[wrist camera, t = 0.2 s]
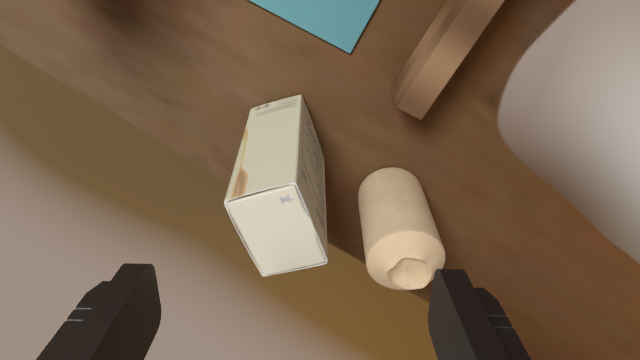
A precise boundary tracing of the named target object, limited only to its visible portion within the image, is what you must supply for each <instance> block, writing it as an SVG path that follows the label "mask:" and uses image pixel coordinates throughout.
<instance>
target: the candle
mask: <svg viewBox="0 0 640 360" xmlns="http://www.w3.org/2000/svg"><path fill="white" fill-rule="evenodd" d="M358 204H359V212H360V220H361V228H362V236H363V244H364V252H365V259H366V266H367V270H368V273H369V274H370V276H371V277H372V278H373V279H374V280H375V281H376V282H377V283H379V284H381V285H383V286H385V287H388V288H391V289H397V290H413V289H422V288H424V287H425V286H426V285H427V284H428V283H429V282H430V281H432V280H433V278H434V273H435V271H436V269H442V268H443V266H444V263H445V251H444V248H443V245H442V242H441V239H440V236H439V234H438V231H437V228H436V225H435V223H434V220H433V217H432V214H431V211H430V209H429V206H428V203H427V200H426V198H425V195H424V192H423V189H422V187H421V185H420V182H419V181H418V179H417V178H416V177H415V176H414V175H413V174H412V173H411V172H409V171H407V170H405V169H402V168H397V167H387V168H382V169H379V170H377V171H375V172H373V173H371V174H370V175H368V176H367V177H366V178H365V179H364V181H363V182H362V184H361V186H360V188H359V192H358Z"/></svg>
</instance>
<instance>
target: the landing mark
mask: <svg viewBox="0 0 640 360" xmlns="http://www.w3.org/2000/svg"><path fill="white" fill-rule="evenodd" d="M249 1H251V2H253V3H255V4H257V5H259V6H261V7H263V8H265V9H266V10H268V11H270V12H272V13H274V14H276V15H278V16H280V17H282V18H283V19H285V20H287V21H289V22H291V23H293V24H295V25H297V26H299V27H300V28H302V29H304V30H306V31H308V32H310V33H312V34H314V35H316V36H318V37H319V38H321V39H323V40H325V41H327V42H329V43H331V44H333V45H335V46H336V47H338V48H340V49H342V50H344V51H346V52H348V53H351V51H352V49H353V47H354V46H355V44H356V42H357V40H358V38H359V37H360V35H361V33H362V31H363V29H364V28H365V26H366V24H367V22H368V20H369V19H370V17H371V15H372V13H373V11H374V10H375V8H376V6H377V4H378V2H379V1H380V0H249Z"/></svg>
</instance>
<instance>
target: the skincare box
mask: <svg viewBox="0 0 640 360" xmlns="http://www.w3.org/2000/svg"><path fill="white" fill-rule="evenodd" d="M224 205H225V207H226V209H227V212H228V214H229V216H230V218H231V220H232V222H233V224H234V226H235V228H236V230H237V232H238V234H239V236H240V238H241V240H242V241H243V243H244V245H245V247H246V249H247V251H248V252H249V254H250V256H251V258H252V259H253V261H254V263H255V265H256V266H257V268H258V270H259V271H260V273H261V275H262V276H263V277H264V276H270V275H274V274H280V273H285V272H291V271H295V270H300V269H305V268H310V267H314V266H319V265H324V264H326V263H327V261H328V251H327V223H326V196H325V167H324V156H323V153H322V149H321V146H320V143H319V140H318V137H317V134H316V131H315V128H314V125H313V123H312V120H311V117H310V114H309V112H308V109H307V106H306V104H305V101H304V99H303V96H302V95H297V96H293V97H289V98H285V99H281V100H278V101H274V102H271V103H267V104H264V105H261V106H258V107H255V108H252V109H251V111H250V114H249V117H248V121H247V124H246V128H245V132H244V135H243V138H242V142H241V145H240V149H239V152H238V156H237V159H236V163H235V166H234V170H233V173H232V177H231V180H230V184H229V187H228V191H227V194H226V198H225V200H224Z"/></svg>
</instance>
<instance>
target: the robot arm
mask: <svg viewBox="0 0 640 360" xmlns="http://www.w3.org/2000/svg"><path fill="white" fill-rule="evenodd" d="M505 315H506V314H505V312H504V311H503V309H502V307H501V305H500V303H499V302H498V300H497V299H496V298H495V297H493V296H492V295H491V294H490V293H489V292H488V291H486V290H485V289H484V288H473V286H472V284H471V282H470V280H469V278H468V276H467V274H466V272H465V271H464V270H463V269H436V271H435V273H434V278H433V285H432V292H431V298H430V305H429V312H428V325H429V331H430V336H431V339H432V342H433V345H434V348H435V351H436V355H437V358H438V360H531V359H530V357H529V355H528V353H527V352H526V350H525V348H524V346H523V344H522V343H521V341H520V339H519V337H518V336H517V334H516V332H515V330H514V329H512V325H511V323H510V321H509V320H508V318H507V317H506V316H505ZM160 320H161V304H160V298H159V292H158V285H157V279H156V273H155V269H154V266H153V265H152V264H123V265H122V266H121V267H120V269H119V270H118V271H117V273H116V274H115V276H114V277H113V279H112V280H111V281H103V282H101V283H100V284H99V285H97V286H96V287H94V288H93V289H91V290H90V291H89V292H87V293H86V294H85V296H84V297H83V298H82V300H81V301H80V302H79V304H78V305H77V306H76V310H73V312H72V313H71V314H70V315H69V317H68V318H67V322H64V323H63V325H62V326H61V327H60V329H59V330H58V331H57V333H56V334H55V335H54V337H53V338H52V339H51V341H50V342H49V343H48V345H47V346H46V347H45V349H44V350H43V351H42V353H41V354H40V355H39V357H38V358H37V359H36V360H144V358H145V356H146V354H147V352H148V350H149V347H150V345H151V343H152V341H153V339H154V337H155V335H156V333H157V331H158V328H159V324H160Z"/></svg>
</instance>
